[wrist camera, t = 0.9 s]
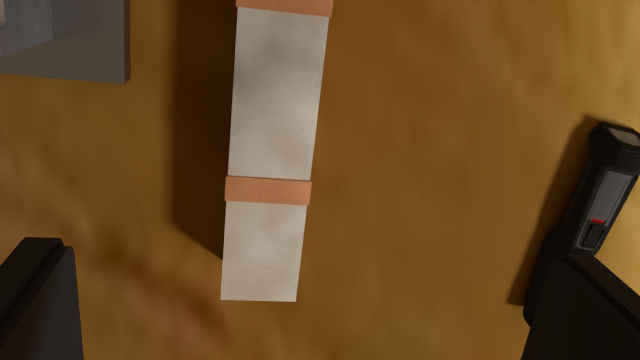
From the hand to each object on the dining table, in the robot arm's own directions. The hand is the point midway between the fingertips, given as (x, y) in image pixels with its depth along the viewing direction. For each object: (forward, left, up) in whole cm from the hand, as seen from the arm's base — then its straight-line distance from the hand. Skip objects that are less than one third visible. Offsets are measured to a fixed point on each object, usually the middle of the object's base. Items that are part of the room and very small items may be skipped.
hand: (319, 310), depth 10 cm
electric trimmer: (-8, -22, -23) cm, 33 cm away
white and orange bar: (0, 0, -22) cm, 22 cm away
